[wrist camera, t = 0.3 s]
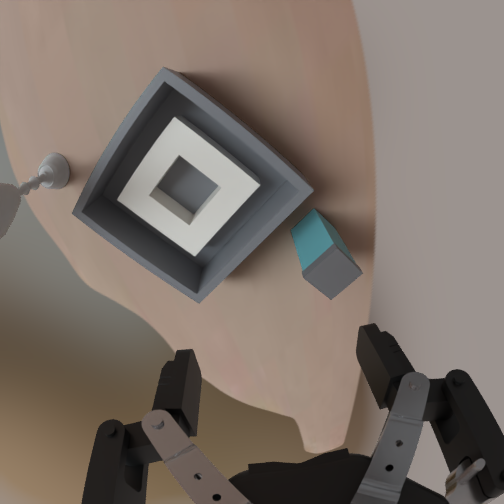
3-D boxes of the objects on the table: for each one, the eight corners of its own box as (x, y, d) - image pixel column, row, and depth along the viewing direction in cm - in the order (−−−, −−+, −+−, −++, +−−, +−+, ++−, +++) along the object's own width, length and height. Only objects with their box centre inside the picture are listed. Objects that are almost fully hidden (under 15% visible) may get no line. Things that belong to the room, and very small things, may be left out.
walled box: (178, 72, 25) (163, 66, 20) (302, 174, 32) (314, 190, 26) (95, 194, 32) (71, 213, 27) (204, 274, 38) (199, 303, 33)
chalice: (34, 187, 31) (-54, 252, 15) (39, 141, 27) (-63, 190, 12) (72, 201, 32) (-14, 280, 17) (80, 153, 29) (-23, 212, 13)
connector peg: (313, 206, 34) (337, 248, 25) (335, 228, 35) (362, 273, 26) (289, 230, 35) (303, 278, 26) (312, 250, 37) (331, 299, 28)
